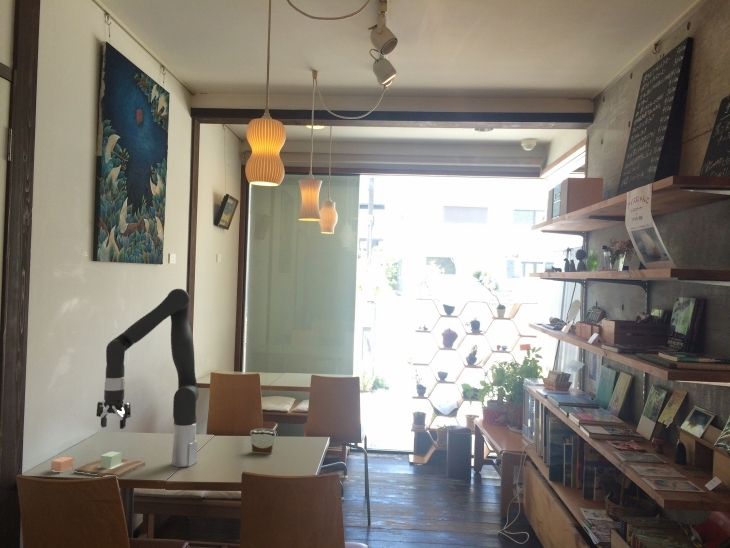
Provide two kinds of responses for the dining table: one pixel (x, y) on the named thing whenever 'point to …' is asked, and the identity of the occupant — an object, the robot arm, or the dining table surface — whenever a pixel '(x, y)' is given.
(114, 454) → the sage green brick
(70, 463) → the terracotta brick
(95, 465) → the base board
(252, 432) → the food container
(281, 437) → the dining table surface
